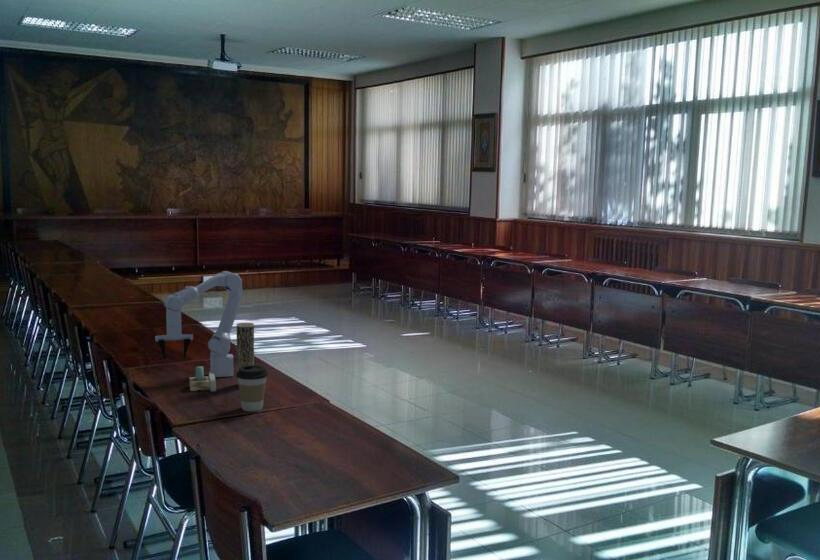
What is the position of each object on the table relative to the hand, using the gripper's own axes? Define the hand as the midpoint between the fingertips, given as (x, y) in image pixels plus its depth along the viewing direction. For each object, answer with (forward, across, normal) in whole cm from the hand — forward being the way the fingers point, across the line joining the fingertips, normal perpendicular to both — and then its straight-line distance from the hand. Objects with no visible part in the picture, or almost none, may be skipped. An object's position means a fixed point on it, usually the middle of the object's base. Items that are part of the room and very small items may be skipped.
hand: (174, 357), depth 302 cm
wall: (+10, -14, +12) cm, 21 cm away
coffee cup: (+10, -26, +44) cm, 52 cm away
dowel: (+10, -9, +12) cm, 18 cm away
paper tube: (+10, -27, +12) cm, 31 cm away
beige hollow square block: (+10, -9, +12) cm, 18 cm away
